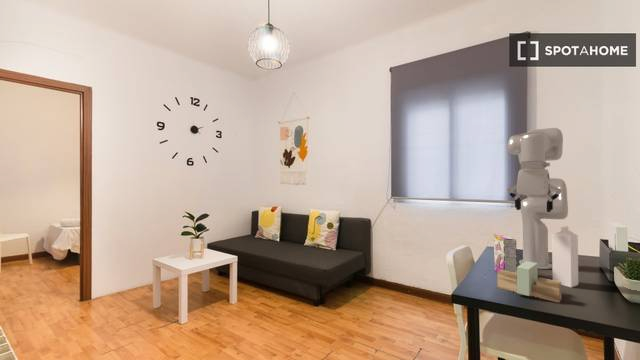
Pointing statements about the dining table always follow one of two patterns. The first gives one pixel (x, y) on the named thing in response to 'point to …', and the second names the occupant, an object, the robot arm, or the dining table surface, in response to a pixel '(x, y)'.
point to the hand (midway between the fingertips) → (533, 210)
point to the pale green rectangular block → (526, 277)
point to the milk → (565, 257)
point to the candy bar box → (505, 253)
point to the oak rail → (540, 289)
